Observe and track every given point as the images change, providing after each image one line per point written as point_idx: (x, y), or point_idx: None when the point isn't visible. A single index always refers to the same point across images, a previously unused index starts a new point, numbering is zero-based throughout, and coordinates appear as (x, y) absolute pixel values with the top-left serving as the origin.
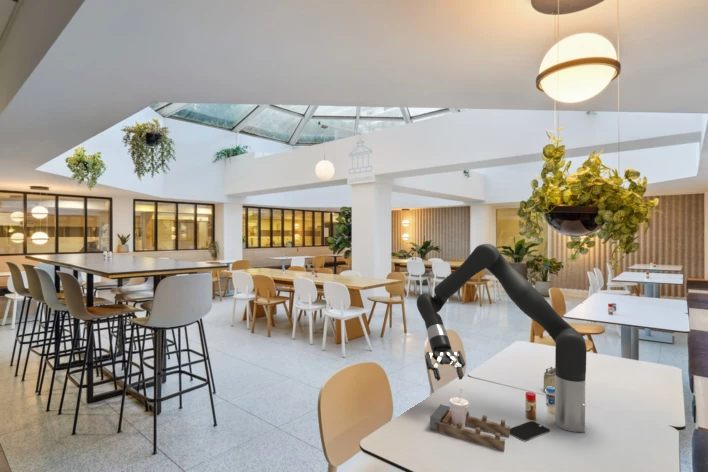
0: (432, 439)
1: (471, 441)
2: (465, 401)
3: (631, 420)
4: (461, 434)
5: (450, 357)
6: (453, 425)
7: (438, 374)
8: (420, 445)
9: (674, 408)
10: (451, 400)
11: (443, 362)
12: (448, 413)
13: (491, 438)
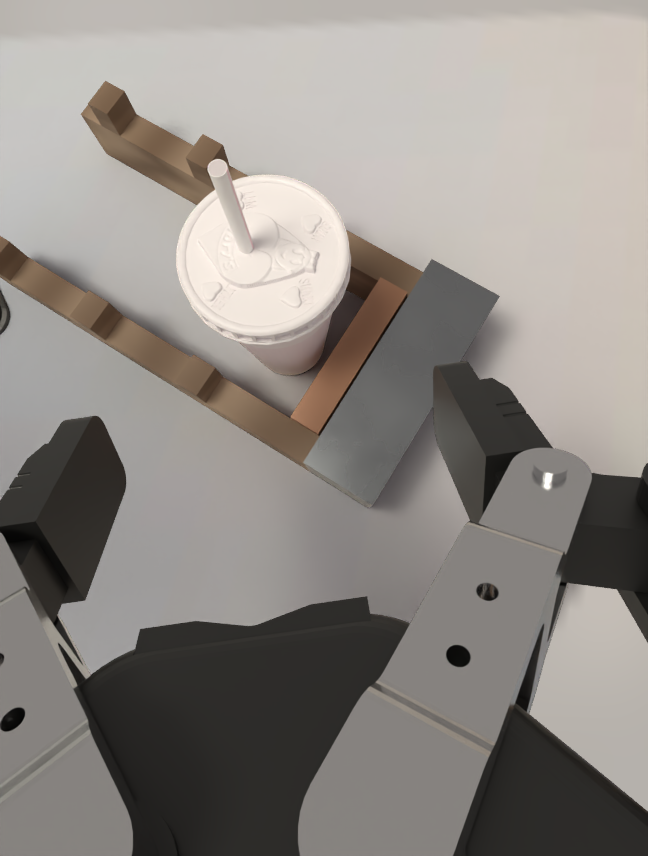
0: (479, 228)
1: None
2: (204, 235)
3: None
4: None
5: (64, 710)
6: None
7: (471, 386)
8: (558, 169)
9: None
10: (328, 269)
11: (332, 611)
12: (334, 399)
13: (153, 126)
